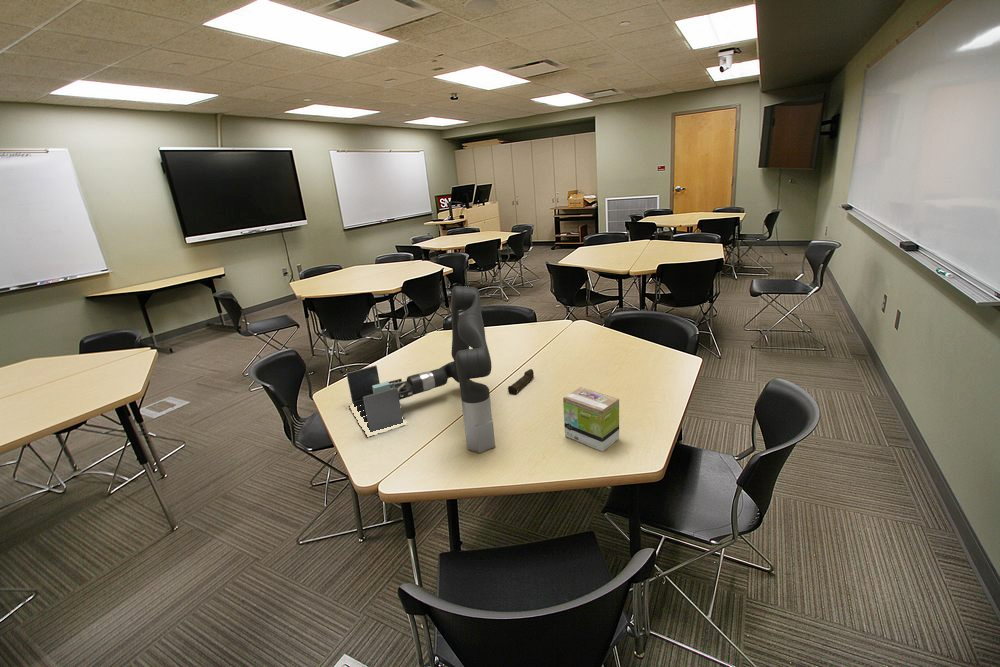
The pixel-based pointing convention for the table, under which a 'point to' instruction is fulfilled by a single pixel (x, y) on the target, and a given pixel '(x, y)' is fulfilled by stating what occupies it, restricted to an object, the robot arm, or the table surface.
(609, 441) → the tea box
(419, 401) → the table surface
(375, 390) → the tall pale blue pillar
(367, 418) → the rack
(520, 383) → the hand tool
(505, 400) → the table surface
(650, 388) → the table surface
